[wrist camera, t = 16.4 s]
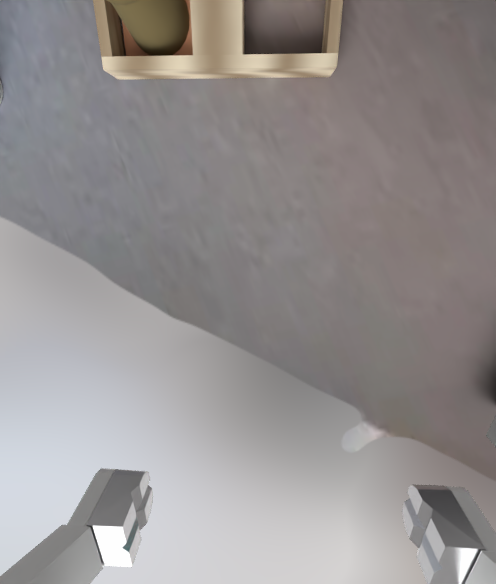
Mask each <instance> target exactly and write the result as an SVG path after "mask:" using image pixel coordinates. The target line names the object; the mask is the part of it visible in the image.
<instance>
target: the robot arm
mask: <svg viewBox="0 0 496 584" xmlns="http://www.w3.org/2000/svg"><path fill="white" fill-rule="evenodd" d="M149 481H150V476H149V472H147V471H132V470H118V469H100V470H99V471H98V472H97V473H96V474H95V476H94V478H93V480H92V482H91V483H90V485H89V487H88V489H87V490H86V492H85V494H84V496H83V497H82V499H81V501H80V503H79V505H78V506H77V508H76V510H75V512H74V513H73V515H72V517H71V519H70V520H69V522H68V524H67V525H61V526H60V527H59V528H58V529H56V530H55V531H54V532H53V533H52V534H50V535H49V536H48V537H47V538H46V539H44V540H43V541H42V542H41V543H40V544H38V545H37V546H36V547H35V548H34V549H33V550H31V551H30V552H29V553H28V554H26V555H25V556H24V557H23V558H22V559H20V560H19V561H18V562H17V563H16V564H15V565H13V566H12V567H11V568H10V569H9V570H7V571H6V572H5V573H4V574H3V575H2V576H0V584H90V583H91V582H92V581H93V579H94V578H95V577H96V576H97V575H98V574H99V572H100V571H101V570H102V569H103V566H124V567H132V566H133V563H134V560H135V557H136V554H137V551H138V548H139V545H140V542H141V536H140V530H141V529H142V527H144V526H145V525H146V523H147V522H148V518H149V515H150V511H151V506H152V501H153V492H152V488H151V487H150V486H149V485H148V483H149ZM407 493H408V495H409V499H408V500H406V501H405V502H404V505H403V509H402V512H403V521H404V525H405V529H406V531H407V534H408V537H409V539H410V540H411V541H412V542H413V543H414V544H415V545H416V546H417V547H418V553H417V559H418V562H419V564H420V567H421V569H422V572H423V574H424V576H425V579H426V582H427V584H496V533H495V531H494V530H493V528H492V527H491V525H490V524H489V522H488V521H487V519H486V518H485V516H484V515H483V513H482V511H481V510H480V508H479V507H478V505H477V504H476V502H475V501H474V499H473V498H472V496H471V495H470V493H469V492H468V491H467V490H466V489H465V488H463V487H447V486H436V485H411V486H409V488H408V491H407Z"/></svg>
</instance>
